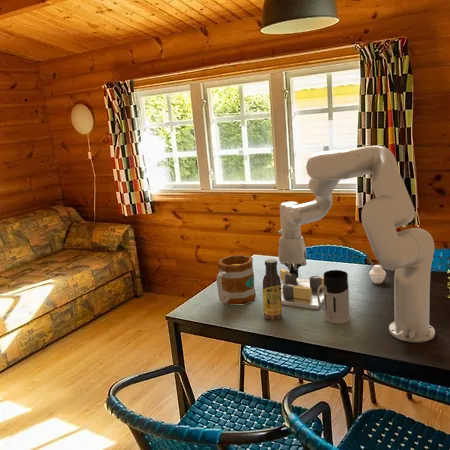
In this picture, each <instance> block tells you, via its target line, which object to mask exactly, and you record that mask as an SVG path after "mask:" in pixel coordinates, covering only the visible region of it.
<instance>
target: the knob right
mask: <svg viewBox="0 0 450 450" xmlns="http://www.w3.org/2000/svg"><path fill="white" fill-rule="evenodd" d="M309 280H310V288H311V290H315V291H317V290H318V288H319V286H320V285H324V276H319V275H315V276H310V277H309ZM321 289H324V286H322V287H321ZM321 289H320V290H321Z"/></svg>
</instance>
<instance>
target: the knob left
mask: <svg viewBox="0 0 450 450" xmlns="http://www.w3.org/2000/svg"><path fill="white" fill-rule="evenodd" d="M279 277H280V281H282V282H285V284H294V285H295V286H296V285H297V279H296V274H293V273H290V271H288V270H287V269H285V268H281V269H279Z"/></svg>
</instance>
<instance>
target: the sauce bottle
mask: <svg viewBox="0 0 450 450" xmlns="http://www.w3.org/2000/svg"><path fill="white" fill-rule="evenodd" d="M264 266H265V275H264V276H263V279H262V305H263V306H262V307H263V312H262V313H263V317H264V318H265V319H266V320H272V321H274V320H279V319H281V317H282V313H283V306H282V305H283V304H282V298H281V283H282V282H281V281H282V280H281V278H280V274H279V273H278V269H277V268H278V260H277V259H275V258H269V259H265V260H264Z"/></svg>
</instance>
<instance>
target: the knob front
mask: <svg viewBox="0 0 450 450" xmlns="http://www.w3.org/2000/svg"><path fill="white" fill-rule="evenodd" d="M283 297H284V298H287V299H291V298H298V299H306V300H311V299H312V291H311V288H310V287H302V286H295V285H294V284H284V285H283Z"/></svg>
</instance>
